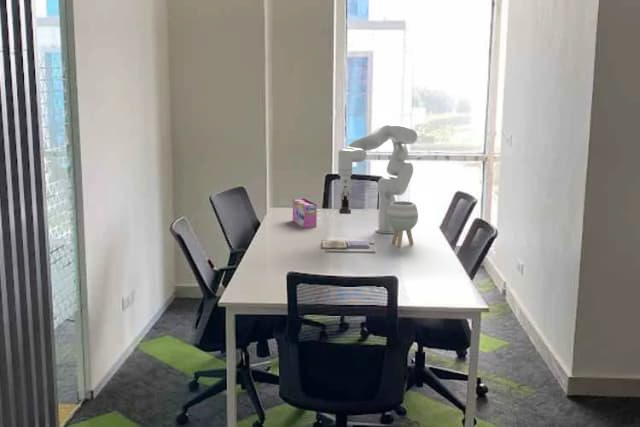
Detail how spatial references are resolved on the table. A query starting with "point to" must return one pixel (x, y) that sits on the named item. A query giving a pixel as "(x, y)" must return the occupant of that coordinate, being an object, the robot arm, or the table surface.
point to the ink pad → (358, 244)
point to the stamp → (344, 209)
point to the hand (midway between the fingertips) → (345, 205)
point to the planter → (402, 220)
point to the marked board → (334, 244)
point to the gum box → (304, 213)
